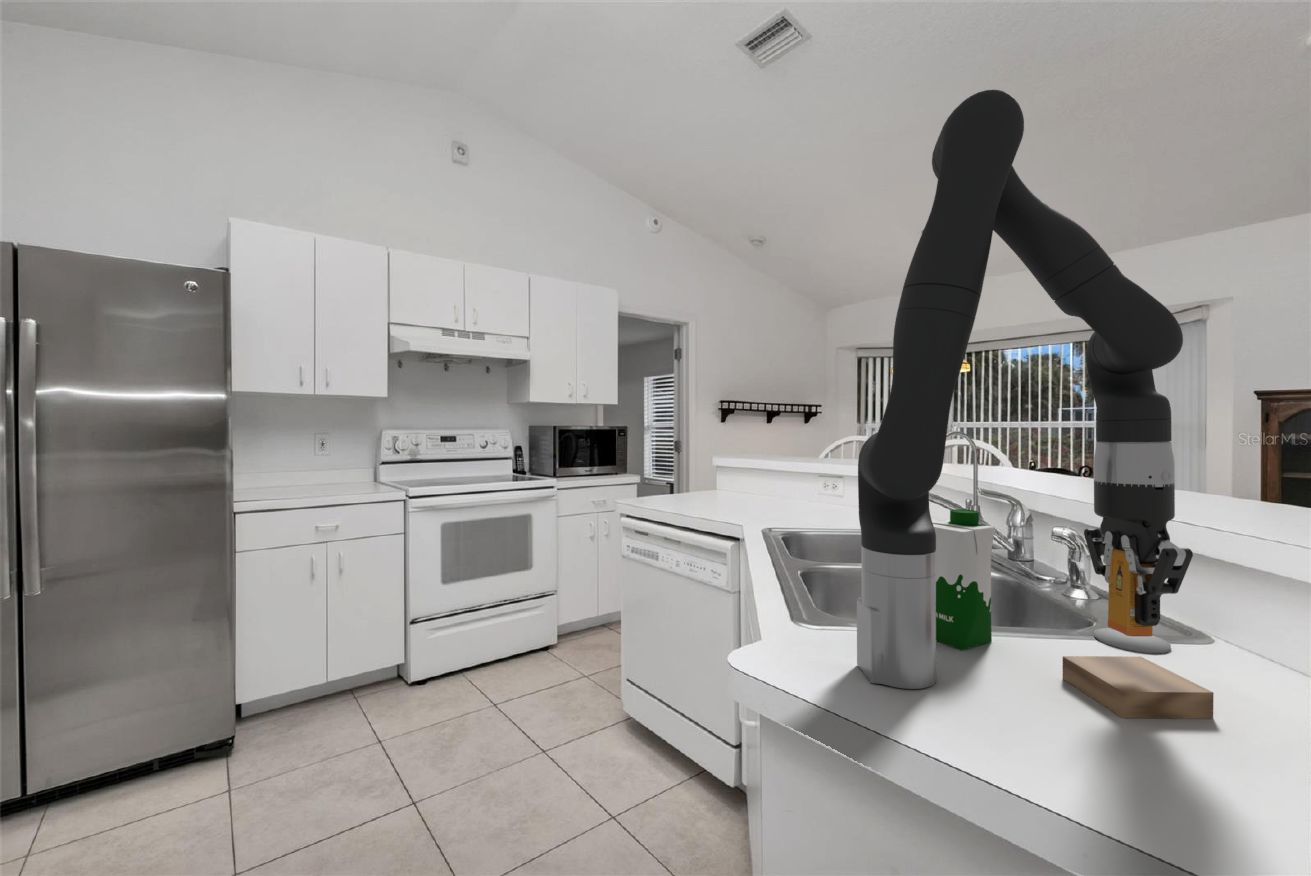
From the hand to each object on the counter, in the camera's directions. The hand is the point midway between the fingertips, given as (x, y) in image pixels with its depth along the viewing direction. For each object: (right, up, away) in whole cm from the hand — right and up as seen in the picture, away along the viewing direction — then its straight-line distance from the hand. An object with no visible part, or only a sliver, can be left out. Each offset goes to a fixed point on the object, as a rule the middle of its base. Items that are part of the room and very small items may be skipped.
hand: (1133, 618), depth 69 cm
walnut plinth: (0, -10, 0) cm, 10 cm away
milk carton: (-11, -10, +20) cm, 25 cm away
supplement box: (0, -2, 0) cm, 2 cm away
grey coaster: (+15, -9, +18) cm, 25 cm away
